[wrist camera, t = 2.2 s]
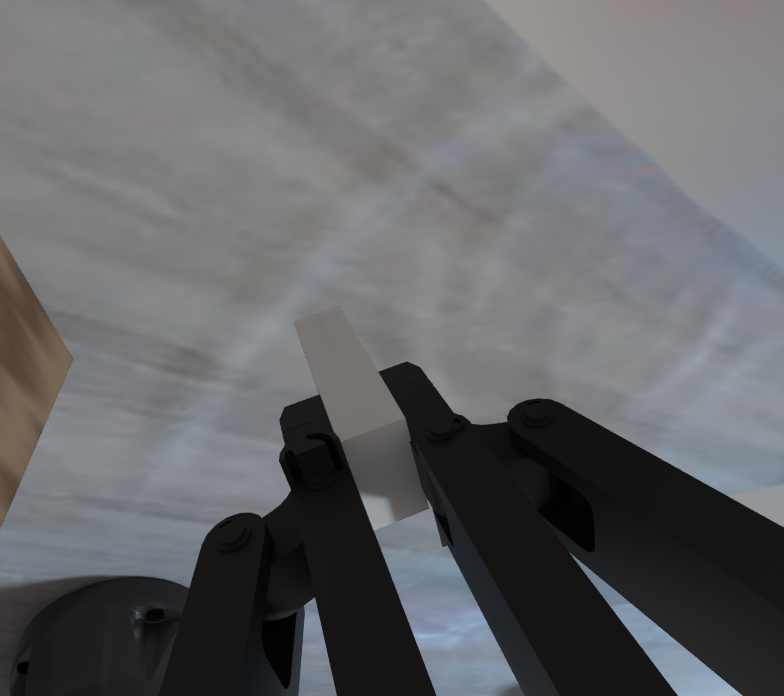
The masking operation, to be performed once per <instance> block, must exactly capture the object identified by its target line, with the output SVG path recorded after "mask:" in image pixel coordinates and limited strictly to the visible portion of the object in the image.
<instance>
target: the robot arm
mask: <svg viewBox="0 0 784 696" xmlns="http://www.w3.org/2000/svg"><path fill="white" fill-rule="evenodd" d="M294 324H295V327H296V330H297V333H298V336H299V339H300V341H301V344H302V347H303V350H304V353H305V356H306V358H307V361H308V364H309V367H310V370H311V373H312V376H313V378H314V381H315V384H316V387H317V390H318V393H319V395H317V396H314V397H311V398H308V399H306V400H303V401H300V402H297V403H295V404H292V405H289V406H286V407H284V410H283V412H282V415H281V417H280V420H279V421H280V425H281V430H282V433H283V439H284V442H285V446H284V448H283V449H282V451H281V452H280V458H279V462H280V464H281V467H282V469H283V471H284V474H285V476H286V479H287V481H288V483H289V486H290V488H291V491H290V493H289V495H288V496H287V498H286V499H285V500H284V501H283V502H282V504H281V505H279V506H278V507H277V508H276V509H274V510H273V511H272V512H270V513H269V514H267V515H266V516H264V517H263V518H261V517H260V516H259V515H257V514H254V513H251V512H250V513H239V514H236V515H233V516H230V517H227V518H226V519H224V520H223V521H221V522H220V523H218V524H217V525H215V527H214V528H213V529H212V530H211V531H210V532H209V533H208V534H207V536H206V538H205V540H204V542H203V544H202V546H201V550H200V553H199V557H198V560H197V564H196V567H195V571H194V574H193V578H192V581H191V585H190V588H189V589H188V588H186V587H184V586H181V585H178V584H175V583H172V582H168V581H163V580H156V579H145V578H131V579H119V580H112V581H107V582H102V583H98V584H94V585H91V586H88V587H85V588H82V589H79V590H77V591H75V592H72V593H70V594H68V595H66V596H64V597H62V598H61V599H59V600H57V601H56V602H54V603H52V604H51V605H50V606H48V607H47V608H46V609H44V610H43V611H42V612H41V613H40V614H39V615H38V616H37V617H36V618H35V619H34V620H33V621H32V622H31V623H30V624H29V626H28V627H27V629H26V630H25V632H24V633H23V635H22V637H21V640H20V642H19V645H18V648H17V652H16V655H15V658H14V661H13V665H12V669H11V675H10V694H11V696H298V693H299V680H300V668H301V655H302V642H303V629H304V617H305V611H304V605H305V604H306V603H308V602H309V601H310V600H312V599H313V598H314V597H315V599H316V603H317V608H318V612H319V617H320V621H321V626H322V630H323V635H324V639H325V644H326V648H327V653H328V657H329V662H330V666H331V671H332V675H333V680H334V684H335V689H336V693H337V696H436V693H435V691H434V688H433V685H432V683H431V680H430V677H429V675H428V672H427V670H426V667H425V664H424V662H423V659H422V656H421V654H420V651H419V648H418V646H417V643H416V641H415V638H414V635H413V633H412V630H411V627H410V625H409V622H408V620H407V617H406V614H405V612H404V609H403V606H402V604H401V601H400V599H399V596H398V593H397V591H396V588H395V585H394V583H393V580H392V577H391V575H390V572H389V570H388V567H387V564H386V562H385V559H384V556H383V554H382V551H381V549H380V546H379V543H378V541H377V538H376V535H375V533H374V531H375V530H377V529H380V528H382V527H385V526H387V525H390V524H392V523H395V522H397V521H400V520H402V519H404V518H407V517H409V516H412V515H414V514H417V513H419V512H422V511H424V510H427V509H429V505H428V502H427V499H428V501H429V502H430V504H431V506H432V508H433V512H434V516H435V520H436V524H437V527H438V531H439V535H440V539H441V543H442V546H443V547H444V546H447V545H448V547H449V549H450V551H451V553H452V555H453V557H454V559H455V561H456V563H457V565H458V567H459V569H460V571H461V573H462V574H463V576H464V578H465V580H466V582H467V584H468V586H469V588H470V590H471V592H472V594H473V596H474V598H475V600H476V602H477V604H478V606H479V607H480V609H481V611H482V613H483V615H484V617H485V619H486V621H487V623H488V625H489V627H490V629H491V631H492V633H493V635H494V637H495V639H496V641H497V642H498V644H499V646H500V648H501V650H502V652H503V654H504V656H505V658H506V660H507V662H508V664H509V666H510V668H511V670H512V672H513V674H514V675H515V677H516V679H517V681H518V683H519V685H520V687H521V689H522V691H523V693H524V695H525V696H678V695H677V694H676V693H675V691H674V690H673V689H672V687H671V686H670V685H669V684H668V682H667V681H666V680H665V678H664V677H663V676H662V674H661V673H660V672H659V670H658V669H657V668H656V666H655V665H654V664H653V662H652V661H651V660H650V658H649V657H648V656H647V654H646V653H645V652H644V651H643V649H642V648H641V647H640V645H639V644H638V643H637V641H636V640H635V639H634V637H633V636H632V635H631V633H630V632H629V631H628V629H627V628H626V627H625V625H624V624H623V623H622V622H621V620H620V619H619V618H618V616H617V615H616V614H615V612H614V611H613V610H612V608H611V607H610V606H609V605H608V603H607V602H606V600H605V599H604V598H603V596H602V595H601V594H600V592H599V591H598V590H597V589H596V587H595V586H594V585H593V583H592V582H591V581H590V579H589V578H588V577H587V575H586V574H585V573H584V571H583V570H582V569H581V568H580V566H579V565H578V563H577V562H576V561H575V560H574V558H573V557H572V556H571V554H572V555H573V556H575V557H576V558H577V559H578V560H579V561H581V562H582V563H583V564H584V565H585V566H587V567H588V568H589V569H590V570H591V571H593V572H594V573H595V574H596V575H598V576H599V577H600V578H601V579H602V580H604V581H605V582H606V583H607V584H608V585H610V586H611V587H612V588H613V589H615V590H616V591H617V592H618V593H619V594H621V595H622V596H623V597H624V598H625V599H626V600H628V601H629V602H630V603H631V604H633V605H634V606H635V607H636V608H637V609H639V610H640V611H641V612H642V613H643V614H645V615H646V616H647V617H648V618H649V619H651V620H652V621H653V622H654V623H656V624H657V625H658V626H659V627H660V628H662V629H663V630H664V631H665V632H666V633H668V634H669V635H670V636H671V637H672V638H674V639H675V640H676V641H677V642H679V643H680V644H681V645H682V646H683V647H685V648H686V649H687V650H688V651H689V652H691V653H692V654H693V655H694V656H695V657H697V658H698V659H699V660H700V661H701V662H703V663H704V664H705V665H706V666H708V667H709V668H710V669H711V670H712V671H714V672H715V673H716V674H717V675H718V676H720V677H721V678H722V679H723V680H724V681H726V682H727V683H728V684H729V685H731V686H732V687H733V688H734V689H735V690H737V691H738V692H739V693H740V694H741V695H743V696H784V527H782V526H780V525H778V524H777V523H775V522H773V521H771V520H769V519H767V518H766V517H764V516H762V515H760V514H758V513H757V512H755V511H753V510H751V509H749V508H748V507H746V506H744V505H742V504H741V503H739V502H737V501H735V500H733V499H732V498H730V497H728V496H726V495H724V494H723V493H721V492H719V491H717V490H716V489H714V488H712V487H710V486H708V485H707V484H705V483H703V482H701V481H699V480H698V479H696V478H694V477H692V476H690V475H689V474H687V473H685V472H683V471H681V470H680V469H678V468H676V467H674V466H672V465H671V464H669V463H667V462H665V461H663V460H662V459H660V458H658V457H656V456H654V455H653V454H651V453H649V452H647V451H645V450H644V449H642V448H640V447H638V446H636V445H635V444H633V443H631V442H629V441H627V440H626V439H624V438H622V437H620V436H618V435H617V434H615V433H613V432H611V431H610V430H608V429H606V428H604V427H602V426H601V425H599V424H597V423H595V422H593V421H592V420H590V419H588V418H586V417H584V416H583V415H581V414H579V413H577V412H575V411H574V410H572V409H570V408H568V407H566V406H565V405H563V404H561V403H559V402H556V401H553V400H551V399H540V398H538V399H531V400H526V401H524V402H521V403H519V404H517V405H516V406H514V407H513V408H512V409H511V410H510V412H509V414H508V416H507V421H508V422H503V423H497V424H488V425H477V424H471V422H470V421H469V420H468V419H466V418H465V417H464V416H462V415H458V414H455V413H453V411H452V410H451V409H450V407H449V406H448V404H447V403H446V402H445V400H444V399H443V398H442V396H441V395H440V394H439V392H438V391H437V390H436V388H435V387H434V386H433V384H432V383H431V381H430V380H429V379H428V378H427V376H426V375H425V373H424V372H423V371H422V369H421V368H420V367H418V366H416V365H414V364H411V363H409V362H404V363H401V364H399V365H396V366H393V367H390V368H387V369H385V370H382V371H379V372H378V371H377V369H376V367H375V366H374V364H373V362H372V361H371V359H370V357H369V355H368V354H367V352H366V350H365V349H364V347H363V345H362V343H361V342H360V340H359V338H358V337H357V335H356V333H355V332H354V330H353V328H352V326H351V325H350V323H349V321H348V320H347V318H346V316H345V315H344V313H343V311H342V309H341V308H340V306H339V307H336V308H333V309H330V310H327V311H324V312H321V313H319V314H316V315H313V316H310V317H307V318H304V319H301V320H298V321H295V322H294ZM426 497H427V498H426ZM569 552H570V553H571V554H570V553H569Z"/></svg>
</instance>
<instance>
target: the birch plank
mask: <svg viewBox="0 0 784 696" xmlns="http://www.w3.org/2000/svg"><path fill="white" fill-rule="evenodd" d="M72 361H73V358H72V356H71V354H70V353H69V351H68V349H67V348H66V346H65V344H64V343H63V341H62V339H61V338H60V336H59V334H58V332H57V331H56V329H55V327H54V326H53V324H52V322H51V321H50V319H49V317H48V316H47V314H46V312H45V310H44V309H43V307H42V305H41V304H40V302H39V300H38V299H37V297H36V295H35V294H34V292H33V290H32V289H31V287H30V285H29V283H28V282H27V280H26V278H25V277H24V275H23V273H22V272H21V270H20V268H19V267H18V265H17V263H16V261H15V260H14V258H13V256H12V255H11V253H10V251H9V250H8V248H7V246H6V245H5V243H4V241H3V240H2V238H1V236H0V528H1V526H2V524H3V521H4V519H5V517H6V515H7V512H8V510H9V508H10V505H11V503H12V501H13V498H14V496H15V494H16V491H17V489H18V487H19V484H20V482H21V480H22V477H23V475H24V473H25V470H26V468H27V466H28V463H29V461H30V459H31V456H32V454H33V452H34V449H35V447H36V445H37V442H38V440H39V438H40V435H41V433H42V431H43V428H44V426H45V424H46V421H47V419H48V417H49V414H50V412H51V410H52V407H53V405H54V403H55V401H56V398H57V396H58V394H59V391H60V389H61V387H62V384H63V382H64V380H65V377H66V375H67V373H68V370H69V368H70V366H71V363H72Z"/></svg>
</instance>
